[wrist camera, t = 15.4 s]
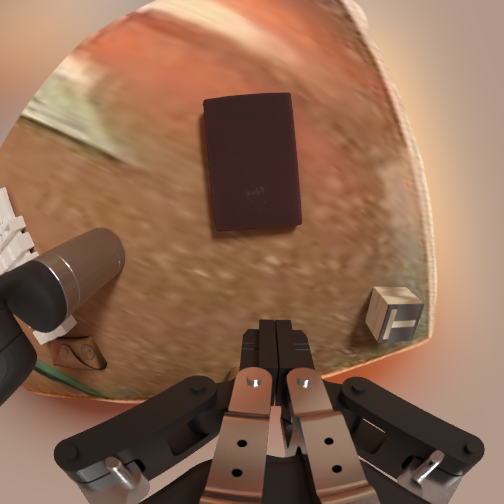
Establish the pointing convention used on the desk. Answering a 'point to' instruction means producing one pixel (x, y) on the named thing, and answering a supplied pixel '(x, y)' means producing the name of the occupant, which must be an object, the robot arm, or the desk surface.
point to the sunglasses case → (77, 353)
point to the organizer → (21, 256)
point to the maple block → (393, 314)
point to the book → (253, 161)
